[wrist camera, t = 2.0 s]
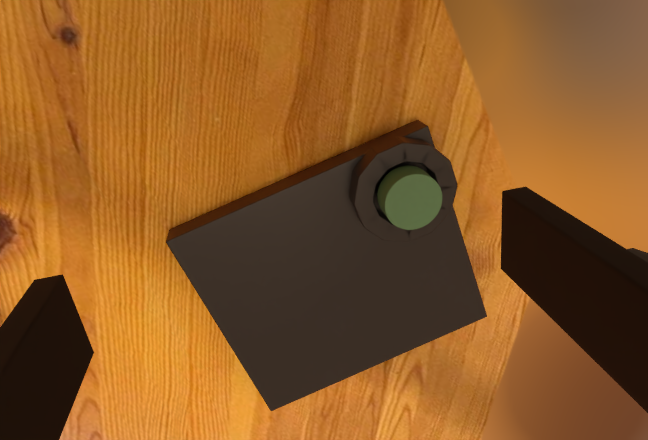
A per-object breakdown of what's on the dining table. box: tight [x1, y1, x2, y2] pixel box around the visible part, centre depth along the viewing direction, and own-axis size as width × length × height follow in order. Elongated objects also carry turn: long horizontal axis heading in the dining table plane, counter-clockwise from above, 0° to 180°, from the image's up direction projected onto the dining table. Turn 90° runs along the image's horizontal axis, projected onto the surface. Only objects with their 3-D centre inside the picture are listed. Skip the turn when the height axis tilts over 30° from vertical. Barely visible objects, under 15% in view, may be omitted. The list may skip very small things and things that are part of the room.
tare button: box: [377, 165, 442, 230], centre depth 31 cm, size 4×4×2 cm
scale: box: [166, 120, 487, 411], centre depth 35 cm, size 18×16×4 cm
